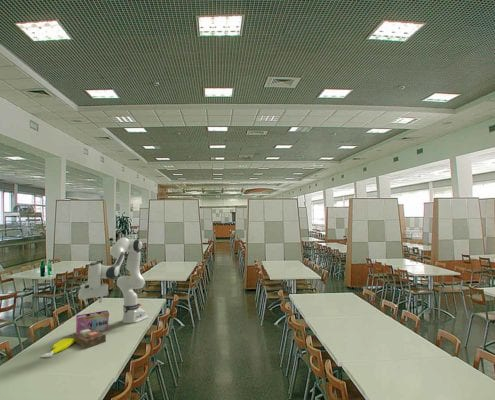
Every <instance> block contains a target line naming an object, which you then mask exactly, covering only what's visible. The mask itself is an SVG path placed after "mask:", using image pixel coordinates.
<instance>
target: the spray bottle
mask: <svg viewBox="0 0 495 400" xmlns="http://www.w3.org/2000/svg"><path fill="white" fill-rule="evenodd" d="M74 342H75V339H74V338H72V337H71V338H70V337H69V338H68V337H67V338H63V339H60V340H59V341H57V342H56V343H54V344H53V345H52V350H50V352H45V354H42V355H39V357H40V358H51V357H53V355H54V354H57V353H59V352H61V351H64V350H66V349H68V348H69V347H70V346H72V345H73V344H75V343H74Z"/></svg>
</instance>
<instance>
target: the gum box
mask: <svg viewBox="0 0 495 400" xmlns="http://www.w3.org/2000/svg"><path fill="white" fill-rule="evenodd" d="M109 316H110V313H109V310H101V311H95V312H91V313H85V314H77V315H76V316H75V317H76V319H75V320H76V321H75V322H76V326H75V334H77V333H80V331H82V330H85V329H89V330H90V329H92V330H95V331H98V332H102V331H107V330H109Z"/></svg>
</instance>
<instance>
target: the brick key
mask: <svg viewBox="0 0 495 400" xmlns="http://www.w3.org/2000/svg"><path fill="white" fill-rule="evenodd" d="M96 336H98V333H97V332H95V331H94V332H91V333H88V334H87V337H89V338H94V337H96Z"/></svg>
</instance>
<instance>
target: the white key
mask: <svg viewBox="0 0 495 400" xmlns="http://www.w3.org/2000/svg"><path fill="white" fill-rule="evenodd" d="M88 333H91V330H89V329H85V330H82V331H80V334H81V335H87V334H88Z"/></svg>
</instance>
